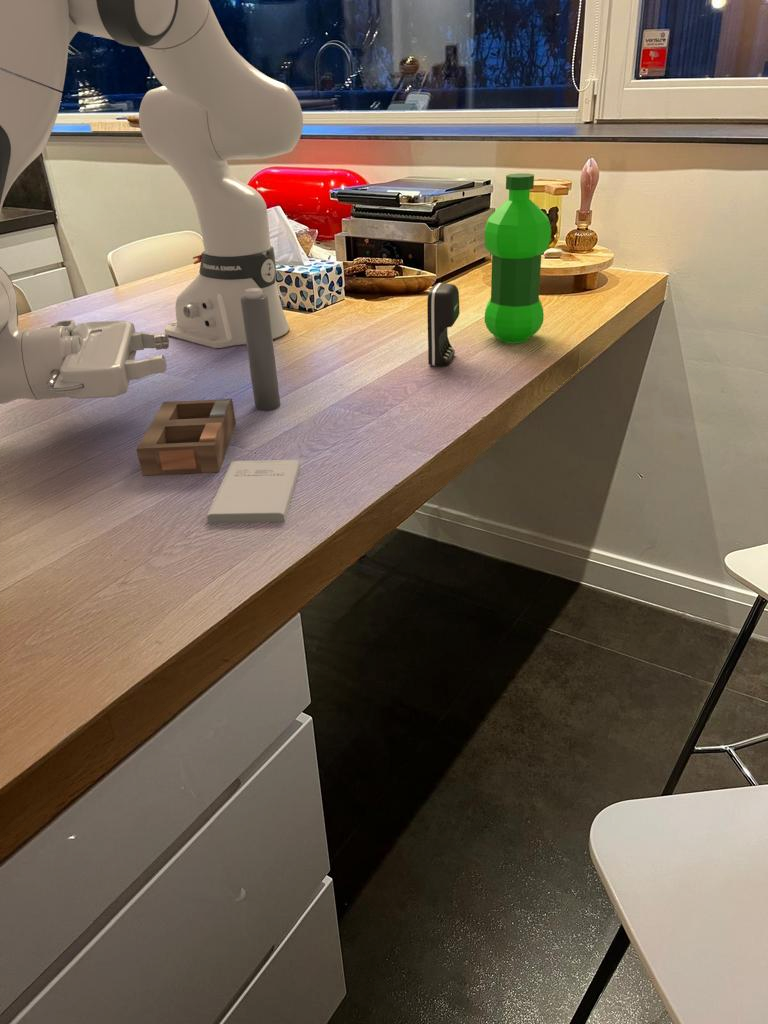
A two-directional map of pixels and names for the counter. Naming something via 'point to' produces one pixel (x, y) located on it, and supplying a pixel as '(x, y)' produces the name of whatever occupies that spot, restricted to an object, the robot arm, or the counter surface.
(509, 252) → the plastic bottle
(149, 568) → the counter surface
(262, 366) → the plug
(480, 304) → the counter surface
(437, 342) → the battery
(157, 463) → the dock
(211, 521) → the external hard drive
